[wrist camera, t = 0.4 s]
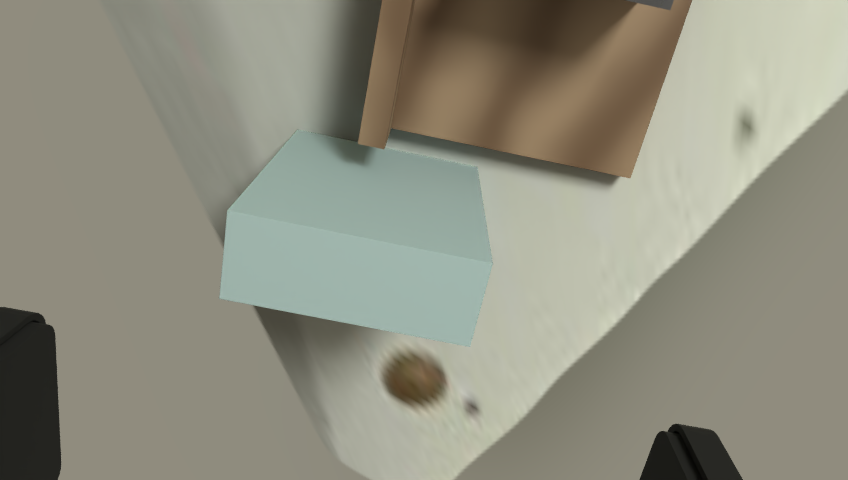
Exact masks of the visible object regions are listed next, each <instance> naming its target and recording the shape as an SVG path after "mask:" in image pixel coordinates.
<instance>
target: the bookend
mask: <svg viewBox="0 0 848 480" xmlns="http://www.w3.org/2000/svg"><path fill="white" fill-rule="evenodd" d="M626 1H630V2H635V3H639V4H644V5H648V6H653V7H657V8H662V9H666V10H671V7H672V4H673V1H674V0H626Z"/></svg>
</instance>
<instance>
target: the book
mask: <svg viewBox="0 0 848 480" xmlns="http://www.w3.org/2000/svg"><path fill="white" fill-rule="evenodd" d="M492 264H493V262H492V255H491V249H490V243H489V237H488V231H487V224H486V218H485V212H484V206H483V200H482V193H481V187H480V181H479V175H478V168H477V167H475V166H471V165H466V164H461V163H456V162H451V161H446V160H442V159H437V158H432V157H427V156H422V155H418V154H413V153H408V152H403V151H398V150H394V149H389V148H385V149H380V148H375V147H370V146H365V145H361V144H358V142H355V141H350V140H345V139H341V138H336V137H331V136H326V135H321V134H316V133H312V132H307V131H302V130H297V131H296V132H295V133H294V134H293V135H292V137H291V138H290V139H289V140H288V141H287V142H286V143H285V145H284V146H283V147H282V148H281V149H280V150H279V152H278V153H277V154H276V155H275V156H274V157H273V158H272V160H271V161H270V162H269V163H268V164H267V165H266V167H265V168H264V169H263V170H262V171H261V172H260V173H259V175H258V176H257V177H256V178H255V179H254V180H253V182H252V183H251V184H250V185H249V186H248V187H247V188H246V190H245V191H244V192H243V193H242V194H241V195H240V196H239V198H238V199H237V200H236V201H235V202H234V203H233V205H232V206H231V207H230V208H229V209H228V210H227V220H226V231H225V242H224V253H223V264H222V275H221V286H220V296H219V299H223V300H229V301H234V302H239V303H245V304H249V305H255V306H260V307H265V308H270V309H275V310H281V311H286V312H291V313H296V314H301V315H307V316H312V317H317V318H322V319H327V320H333V321H338V322H343V323H348V324H353V325H359V326H364V327H369V328H374V329H379V330H385V331H390V332H395V333H400V334H405V335H411V336H416V337H421V338H426V339H431V340H437V341H442V342H447V343H452V344H457V345H463V346H468V347H470V345H471V341H472V337H473V334H474V330H475V326H476V323H477V319H478V315H479V312H480V308H481V305H482V301H483V297H484V294H485V290H486V286H487V283H488V279H489V275H490V272H491V268H492Z"/></svg>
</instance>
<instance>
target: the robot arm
mask: <svg viewBox="0 0 848 480" xmlns="http://www.w3.org/2000/svg"><path fill="white" fill-rule="evenodd" d="M58 408H59V407H58V386H57V364H56V344H55V332H54V329H53V327H52V326H50V325H47V324H46V323H45V319H44V317H43V316H42V315H40V314H39V313H34V312H28V311H22V310H17V309H12V308H6V307H0V480H58V477H59V474H60V469H61V449H60V431H59V430H60V428H59V409H58ZM640 480H743V479H742V477H741V476H740V474H739V472H738V471H737V469H736V467H735V465H734V464H733V462H732V460H731V458H730V456H729V455H728V453H727V451H726V449H725V448H724V446H723V444H722V443H721V441H720V439H719V437H718V436H717V434H716V433H715V432H714V431H712V430H709V429H704V428H698V427H692V426H686V425H681V424H674V425H672V426H671V427H670V428H669V430H668V432H665V431H661V432H659V433H658V434H657V436H656V438H655V440H654V443H653V445H652V448H651V451H650V453H649V456H648V459H647V461H646V464H645V467H644V469H643V472H642V475H641V477H640Z"/></svg>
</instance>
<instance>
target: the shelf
mask: <svg viewBox="0 0 848 480" xmlns="http://www.w3.org/2000/svg"><path fill="white" fill-rule="evenodd" d="M691 2H692V0H674V1H673V4H672V7H671V10H666V9H662V8H657V7H653V6H648V5H644V4H639V3H635V2H630V1H626V0H382V4H381V10H380V16H379V22H378V28H377V34H376V39H375V45H374V51H373V57H372V63H371V69H370V75H369V81H368V87H367V92H366V98H365V104H364V110H363V116H362V122H361V128H360V134H359V140H358V144H361V145H365V146H370V147H375V148H380V149H385V146H386V143H387V140H388V137H389V134H390V130H391V128H393V129H397V130H402V131H407V132H412V133H417V134H421V135H426V136H431V137H436V138H440V139H445V140H450V141H455V142H460V143H464V144H469V145H474V146H479V147H483V148H488V149H493V150H498V151H502V152H507V153H512V154H517V155H522V156H526V157H531V158H536V159H541V160H545V161H550V162H555V163H560V164H565V165H569V166H574V167H579V168H584V169H588V170H593V171H598V172H603V173H608V174H612V175H617V176H622V177H627V178H631V175H632V172H633V169H634V166H635V163H636V160H637V158H638V155H639V152H640V149H641V146H642V143H643V140H644V137H645V134H646V132H647V129H648V126H649V123H650V120H651V117H652V114H653V111H654V109H655V106H656V103H657V100H658V97H659V94H660V91H661V88H662V85H663V83H664V80H665V77H666V74H667V71H668V68H669V65H670V62H671V60H672V57H673V54H674V51H675V48H676V45H677V42H678V39H679V37H680V34H681V31H682V28H683V25H684V22H685V19H686V16H687V13H688V11H689V8H690V5H691Z"/></svg>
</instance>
